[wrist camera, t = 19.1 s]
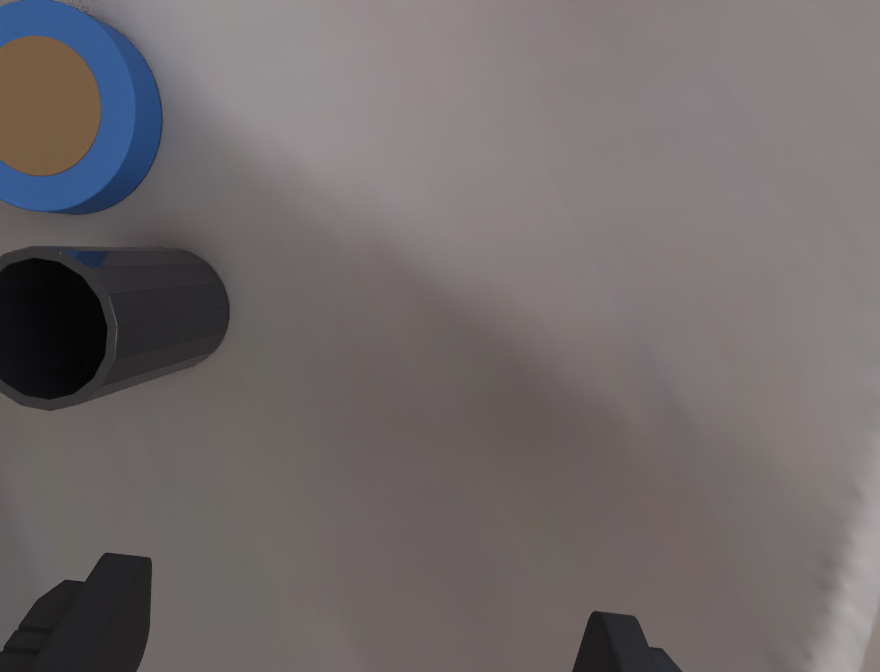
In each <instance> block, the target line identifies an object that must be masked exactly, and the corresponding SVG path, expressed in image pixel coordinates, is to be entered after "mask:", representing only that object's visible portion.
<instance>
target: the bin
mask: <svg viewBox="0 0 880 672" xmlns="http://www.w3.org/2000/svg"><path fill="white" fill-rule="evenodd" d="M228 319H229V304H228V298H227V294H226V291H225V288H224V286H223V284H222V282H221V280H220V278H219V277H218V275H217V274H216V272H215V271H214V270H213V269H212V268H211V267H210V266H209V265H208V264H207V263H206V262H205V261H204V260H202V259H201V258H199V257H198V256H196V255H194V254H192V253H189V252H187V251H183V250H179V249H169V248H162V247H76V246H30V247H26V248H23V249H19V250H15V251H12V252H8V253H5V254H3V255H2V256H1V257H0V392H1V393H3V394H4V395H6V396H7V397H9V398H10V399H12V400H13V401H15V402H17V403H18V404H20V405H22V406H27V407H32V408H37V409H43V410H48V411H53V410H57V409H62V408H66V407H70V406H74V405H78V404H81V403H84V402H87V401H90V400H93V399H96V398H99V397H102V396H105V395H108V394H111V393H114V392H117V391H120V390H123V389H126V388H129V387H132V386H135V385H138V384H141V383H144V382H147V381H150V380H153V379H155V378H158V377H161V376H164V375H167V374H170V373H173V372H176V371H179V370H182V369H185V368H188V367H191V366H194V365H196V364H197V363H199V362H201V361H203V360H204V359H206V358H207V357H208V356H210V355H211V354H212V353H213V352H214V351H215V349H216V348H217V347H218V346H219V344H220V343H221V341H222V339H223V337H224V335H225V332H226V329H227V325H228Z"/></svg>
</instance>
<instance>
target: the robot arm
mask: <svg viewBox="0 0 880 672" xmlns="http://www.w3.org/2000/svg"><path fill="white" fill-rule="evenodd" d="M151 579H152V562H151V559H150V558H149V557H141V556H132V555H124V554H115V553H105V554H104V555H103V556H102V557H101V558H100V559H99V561H98V562H97V564H96V566H95V567H94V569H93V570H92V572H91V573H90V575H89V576H88V578H87V579H86V581H85V582H82V581H73V580H64V581H63V582H61V583H60V584H59V585H57V586H56V587H54V588H53V589H52V590H50V591H49V592H47V593H46V594H45V595H43V596H42V597H41V598H39V599H38V600H37V601H36V602H35V604H34V605H33V606H32V608H31V609H30V611H29V612H28V613H27V615H26V616H25V618H24V619H23V620H22V622H21V623H20V625H19V628H18V630H15V632H14V633H13V634H12V636H11V637H10V639H9V640H8V641H7V643H6V644H5V646H4V649H3V651H2V652H0V672H136V671H137V669H138V667H139V665H140V662H141V660H142V657H143V654H144V651H145V648H146V644H147V640H148V635H149V628H150V607H151ZM572 672H682V671H681V670H680V669H679V667H678V666H677V665H676V664H675V663H674V662H673V661H672V659H671V658H670V657H669V656H668V655H667V654H666V653H665V651H664V650H663V649H662V648H653V647H649V646H648V644H647V641H646V639H645V636H644V634H643V631H642V629H641V626H640V624H639V622H638V620H637V619H636V617H635V616H632V615H625V614H616V613H608V612H599V611H594V612H592V614H591V615H590V617H589V620H588V623H587V626H586V629H585V632H584V636H583V639H582V642H581V645H580V648H579V652H578V655H577V658H576V661H575V664H574V668H573V671H572Z"/></svg>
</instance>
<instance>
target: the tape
mask: <svg viewBox="0 0 880 672" xmlns="http://www.w3.org/2000/svg"><path fill="white" fill-rule="evenodd" d="M161 118H162V116H161V104H160V99H159V94H158V90H157V87H156V84H155V81H154V78H153V76H152V74H151V71H150V69H149V67H148V65H147V64H146V62H145V60H144V59H143V57H142V56H141V54H140V53H139V52H138V51H137V49H136V48H135V47H134V46H133V45H132V43H130V42H129V41H128V40H127V39H126V38H125V37H124V36H123V35H122V34H120V33H119V32H117V31H116V30H115V29H113V28H112V27H110V26H108V25H106V24H104V23H102V22H100V21H98V20H97V19H95V18H93V17H91V16H89V15H87V14H85V13H83V12H82V11H80V10H78V9H76V8H74V7H72V6H69V5H66V4H64V3H61V2H57V1H52V0H20V1H16V2H12V3H8V4H6V5H4V6H1V7H0V199H1V200H3V201H5V202H7V203H9V204H11V205H14V206H16V207H19V208H22V209H27V210H31V211H40V212H52V213H64V214H87V213H92V212H97V211H100V210H103V209H106V208H108V207H110V206H112V205H114V204H116V203H118V202H119V201H121V200H122V199H123V198H125V197H126V196H127V195H129V194H130V193H131V192H132V191H133V190H134V189H135V188H136V187H137V186H138V185H139V183H140V182H141V181H142V179H143V178H144V177H145V175H146V173H147V172H148V170H149V168H150V167H151V164H152V162H153V160H154V157H155V155H156V152H157V148H158V145H159V140H160V134H161Z"/></svg>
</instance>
